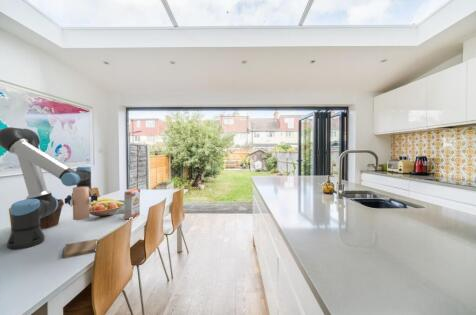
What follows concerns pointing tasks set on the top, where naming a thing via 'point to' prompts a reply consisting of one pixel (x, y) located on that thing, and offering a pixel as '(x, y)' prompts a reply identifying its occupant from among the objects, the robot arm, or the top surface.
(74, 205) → the terracotta canister
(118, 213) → the grey carved relief
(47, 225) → the brown tapered bucket
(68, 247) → the cutting board
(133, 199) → the cracker box
